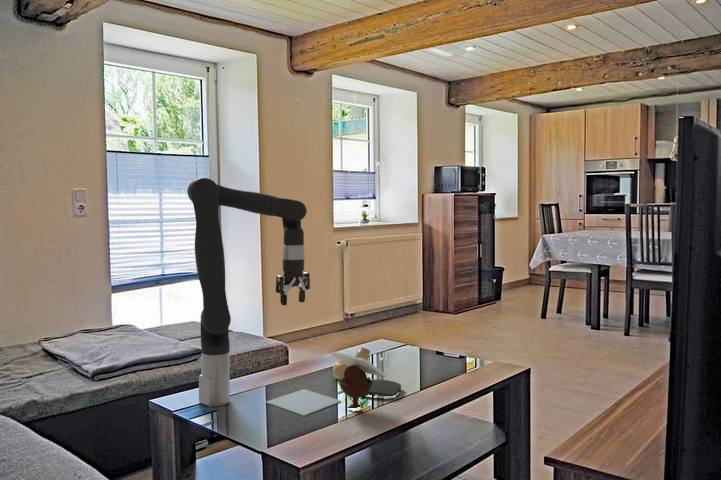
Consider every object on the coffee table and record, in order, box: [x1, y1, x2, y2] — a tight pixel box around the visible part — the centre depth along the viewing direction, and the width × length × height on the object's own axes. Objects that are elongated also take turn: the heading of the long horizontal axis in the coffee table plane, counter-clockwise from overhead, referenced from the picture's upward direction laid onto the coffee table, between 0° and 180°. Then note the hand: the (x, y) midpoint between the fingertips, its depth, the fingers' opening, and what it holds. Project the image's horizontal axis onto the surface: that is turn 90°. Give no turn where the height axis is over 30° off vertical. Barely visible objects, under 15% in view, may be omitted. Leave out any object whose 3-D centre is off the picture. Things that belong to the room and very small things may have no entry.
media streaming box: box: [364, 378, 402, 396], centre depth 219 cm, size 15×15×3 cm
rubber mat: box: [265, 388, 342, 417], centre depth 206 cm, size 18×18×1 cm
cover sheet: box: [330, 346, 388, 378], centre depth 202 cm, size 14×14×6 cm
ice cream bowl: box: [338, 365, 373, 408], centre depth 200 cm, size 11×11×15 cm
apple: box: [332, 360, 349, 381], centre depth 233 cm, size 8×8×8 cm
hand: (293, 303), depth 213 cm, fingers open, 8 cm apart
